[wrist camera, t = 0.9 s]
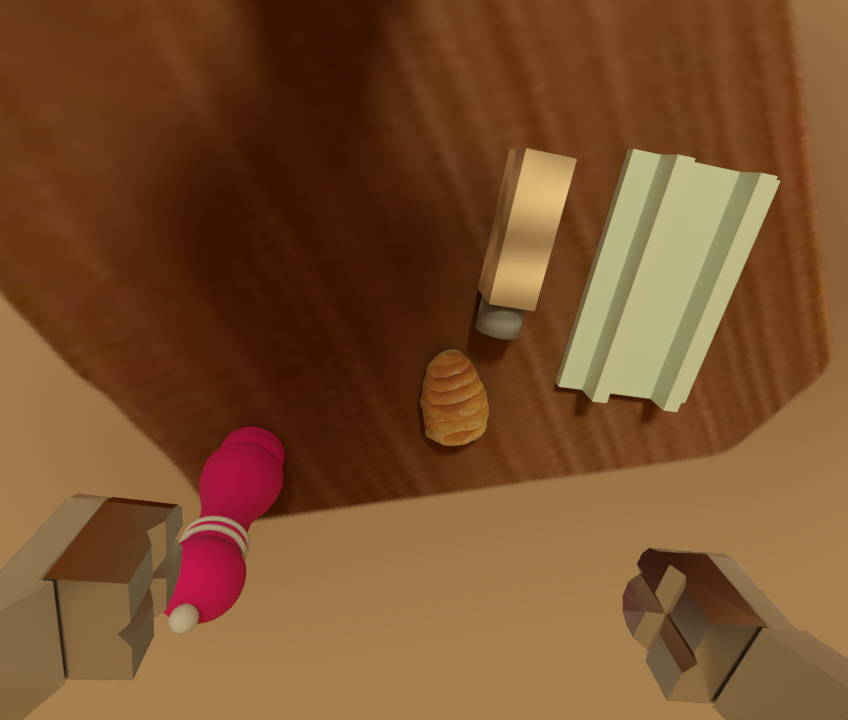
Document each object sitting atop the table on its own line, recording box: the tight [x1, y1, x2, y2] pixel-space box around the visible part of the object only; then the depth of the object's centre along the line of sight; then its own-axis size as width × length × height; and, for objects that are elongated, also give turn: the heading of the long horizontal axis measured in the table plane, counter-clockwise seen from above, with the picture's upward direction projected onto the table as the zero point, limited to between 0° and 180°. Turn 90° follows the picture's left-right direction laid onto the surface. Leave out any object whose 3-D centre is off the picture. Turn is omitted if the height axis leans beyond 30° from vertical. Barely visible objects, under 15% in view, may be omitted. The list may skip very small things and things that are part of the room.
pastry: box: [420, 349, 489, 446], centre depth 46 cm, size 9×7×4 cm
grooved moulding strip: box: [555, 149, 780, 412], centre depth 44 cm, size 22×14×4 cm, turn 170°
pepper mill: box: [163, 427, 285, 634], centre depth 39 cm, size 7×7×20 cm
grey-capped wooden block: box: [475, 148, 577, 340], centre depth 41 cm, size 15×4×5 cm, turn 170°
